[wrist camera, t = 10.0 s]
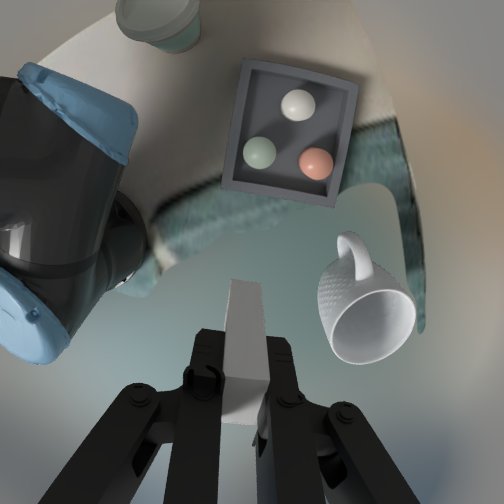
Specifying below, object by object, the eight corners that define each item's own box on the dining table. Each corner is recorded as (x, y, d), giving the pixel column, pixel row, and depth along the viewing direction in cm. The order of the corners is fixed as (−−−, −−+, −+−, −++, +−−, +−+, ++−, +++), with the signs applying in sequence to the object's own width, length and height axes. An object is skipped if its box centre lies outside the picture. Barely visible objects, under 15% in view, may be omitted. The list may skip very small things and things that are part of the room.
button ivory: (277, 118, 32) (280, 116, 29) (282, 90, 31) (285, 86, 28) (306, 124, 33) (312, 123, 30) (311, 96, 31) (317, 93, 28)
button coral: (294, 172, 35) (299, 176, 32) (300, 144, 33) (305, 145, 31) (322, 178, 35) (329, 182, 32) (328, 150, 34) (336, 152, 31)
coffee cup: (184, -2, 26) (163, -45, 15) (225, 34, 29) (216, -5, 18) (134, 37, 28) (95, 8, 17) (172, 75, 31) (141, 53, 20)
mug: (296, 228, 39) (318, 271, 27) (371, 209, 38) (418, 243, 26) (314, 316, 45) (334, 375, 33) (378, 297, 44) (413, 348, 32)
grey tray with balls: (222, 184, 37) (220, 188, 34) (243, 63, 31) (242, 57, 28) (327, 202, 38) (334, 208, 35) (351, 87, 32) (359, 84, 29)
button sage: (241, 163, 34) (240, 166, 31) (246, 134, 33) (246, 134, 30) (270, 168, 35) (273, 171, 32) (275, 139, 33) (278, 139, 30)
